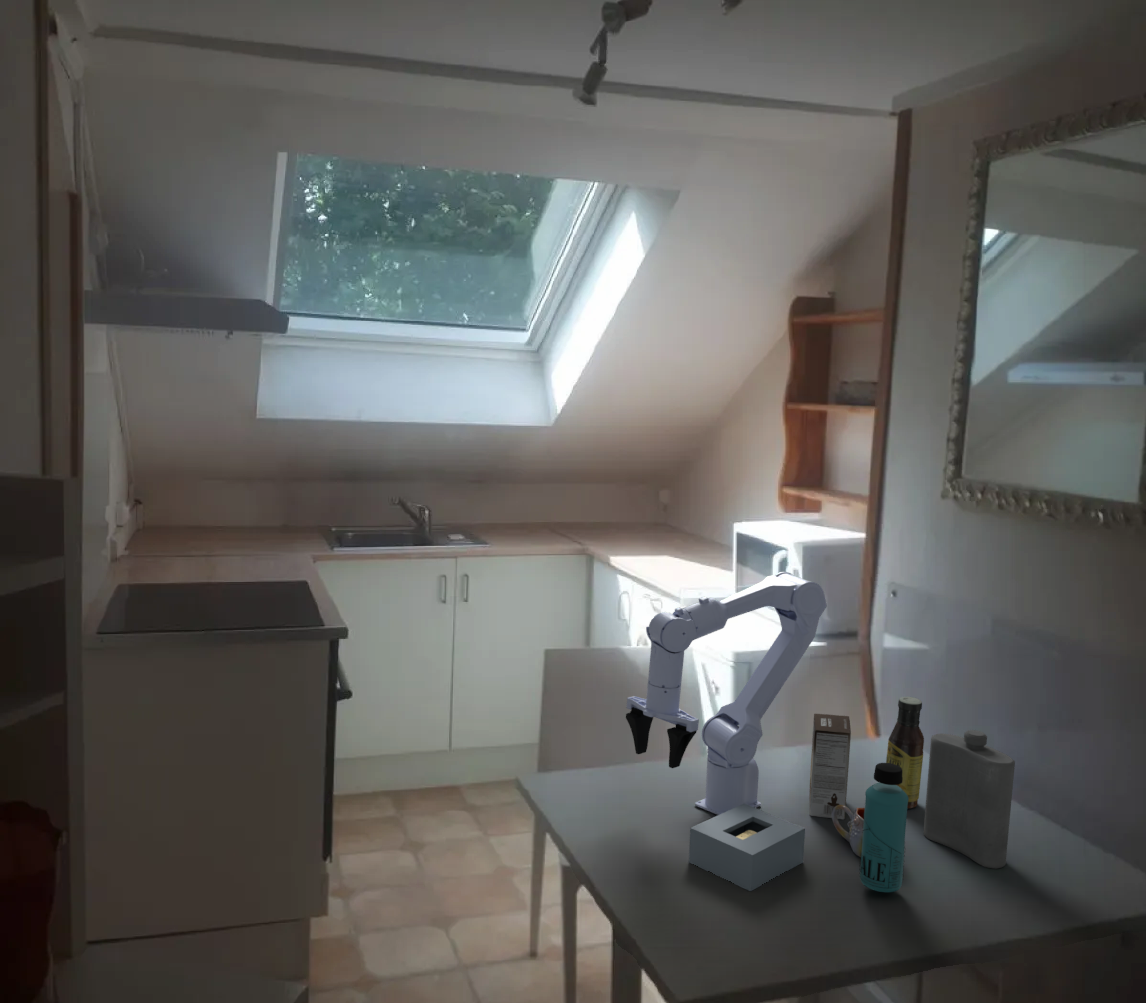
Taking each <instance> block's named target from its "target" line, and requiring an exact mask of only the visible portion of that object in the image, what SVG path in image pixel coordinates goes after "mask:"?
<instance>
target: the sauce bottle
mask: <svg viewBox="0 0 1146 1003" xmlns="http://www.w3.org/2000/svg"><path fill="white" fill-rule="evenodd" d="M897 701H898V702H897V706H898V712H897V718H896V722H895V724H894V727H893V729H892V731H891V733H890V735H889V737H888V741H887V742H888V743H887V750H886V751H887V752H886V758H885V763H892V764H895V765H898V766H900V767H901V768H902V777H903V781H902V783H901V784H899V785H897V786H899V787H900V788H901V789H902V790H903V791H904V792H905V793H906V794H907V796H908V798H909V800H908V806H907V810H909V809H915V808H916V807H917V806H918V801H919V798H920V790H921V779H922V771H923V770H922V768H923V762H924V761H923V760H924V745H925V738H924V734H923V732H922V730H921V727H920V722H921V721H920V717H921V716H920V715H921V711H922V708H923V701H922V700H921V699H919V698H917V697H912V696H901V697H899V698H898V700H897Z"/></svg>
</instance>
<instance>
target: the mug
mask: <svg viewBox="0 0 1146 1003" xmlns="http://www.w3.org/2000/svg"><path fill="white" fill-rule="evenodd" d="M839 809H842V810H844V811H845V814H847V815H848V817H849V819H850V820H849V821H847V827H848V829H849V830H848V831H849V832H848V831H847V830H846V829H844V828H843V827H842V825H841V823H840V822H839V819H838V818H837V812H838V810H839ZM864 811H865V807H856V808H855V810H854V812H852V811H851V809H850V808H849V807H848V806H847V805H846V806H844V805H837V806H835V807H834V809H833V810H832V818H831V820H832V823H833V825H834V827H835V829H836V831H837V832H838V833H839V835H840V836H842V838H844V839H845V840H846V841H847V843H849V844H850V847H851V850H852V852H853V854H855V855H856V856H858V857H859V858H861V856H860V855H861V853H860V851H861V852H862V846H861V845H862V844H861V843H862V842H861V841H862V840H861V839H863V833H862V832H863V829H862V828H863V827H862V825H864V824H863V823H864V814H863V812H864Z"/></svg>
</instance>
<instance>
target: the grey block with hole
mask: <svg viewBox="0 0 1146 1003" xmlns="http://www.w3.org/2000/svg"><path fill="white" fill-rule="evenodd" d="M747 830H752V831H754V832H757V833H756V834H754V835H752V836H750V837H748V838H746V839H744V840H742V839H740V838H738V837H736V836H738V835H740V834H742V833H744V832H746V831H747ZM689 833H690V834H689V850H688V852H689V853H688V863H689V864H692V865H693V864H694V865H693V866H695V865H696V866H695V867H697V866H698V867H697V868H700V869H702V870H704V871H706V872H708V871H710V872H712V873H713V874H712V873H711V874H712V875H714V874H715V876H717V877H719V876H720V877H719V878H721V877H722V878H721V879H723V878H724V879H723V880H725V879H726V880H725V881H727V880H728V881H727V882H729V881H731V882H732V883H731V882H730V883H731V884H733V883H734V884H733V885H736V886H738V887H739V888H742V889H744V890H746V891H748V892H752V891H754V890H755V889H757V888H759V887H761V886H763V885H765V884H766V882H767V883H769V882H770V881H772V880H774V879H775V877H776V876H778V877H779V876H781V875H783V874H785V873H786V872H785V871H787V872H788V871H789V870H793V868H796V867H798V866H799V865H800V864H802V863H804V853H805V838H806V828H805V827H804V826H801V825H799V824H796V823H793V822H791V821H788V820H786V819H784V818H782V817H779V816H776V815H774V814H771V813H768V812H766V811H764V810H761V809H759V808H758V807H756V808H754V807H752V806H749V805H747V804H742V805H740V806H738V807H735V808H733V809H731V810H729V811H726V812H724V813H722V814H720V815H716V816H713V817H711V818H709V819H707V820H703V821H702V822H700V823H698V824H696V825H694V826H691V827H690V831H689ZM710 872H709V873H710ZM784 872H785V873H784ZM782 873H783V874H782ZM780 874H781V875H780ZM773 878H774V879H773ZM776 878H777V877H776ZM771 879H772V880H771ZM769 880H770V881H769ZM764 883H765V884H764ZM762 884H763V885H762Z"/></svg>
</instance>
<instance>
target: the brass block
mask: <svg viewBox="0 0 1146 1003" xmlns="http://www.w3.org/2000/svg"><path fill="white" fill-rule="evenodd" d="M756 833H757V832H754V831H752V830H747V831H746V832H744V833H742V834H740V835H738V836H736V837H738V838H740V839H742V840H744V839H746V838H748V837H750V836H752V835H754V834H756Z"/></svg>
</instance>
